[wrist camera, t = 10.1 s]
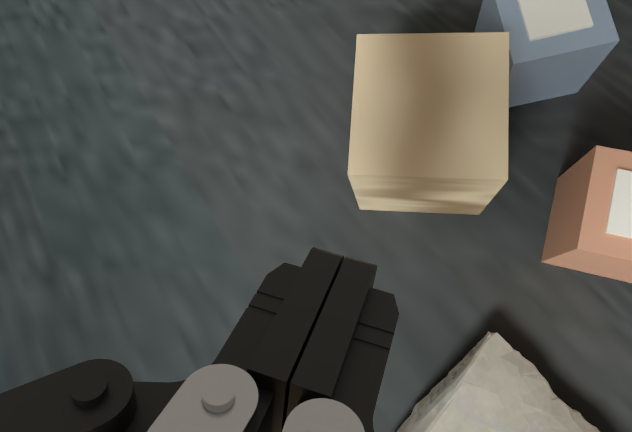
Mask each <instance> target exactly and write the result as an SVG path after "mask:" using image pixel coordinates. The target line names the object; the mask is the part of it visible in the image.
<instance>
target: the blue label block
mask: <svg viewBox="0 0 632 432" xmlns="http://www.w3.org/2000/svg"><path fill="white" fill-rule="evenodd" d="M480 32H509V107H513V106H518V105H523V104H527V103H532V102H536V101H541V100H546V99H550V98H555V97H559V96H564V95H569V94H573V93H577V92H578V91H579V90H580V88H581V87H582V86H583V85H584V84H585V82H586V81H587V80H588V79H589V77H590V76H591V75H592V74H593V72H594V71H595V70H596V69H597V68H598V66H599V65H600V64H601V63H602V61H603V60H604V59H605V58H606V56H607V55H608V54H609V53H610V52H611V50H612V49H613V48H614V47H615V45H616V44H617V43H618V42H619V37H618V34H617V31H616V28H615V25H614V22H613V19H612V16H611V13H610V10H609V7H608V4H607V1H606V0H483V2H482V5H481V9H480V13H479V16H478V20H477V24H476V27H475V31H474V33H480Z"/></svg>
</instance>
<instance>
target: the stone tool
mask: <svg viewBox="0 0 632 432" xmlns="http://www.w3.org/2000/svg"><path fill="white" fill-rule="evenodd" d="M397 432H600V431H599V430H598V428H597V427H595V426H593V425H591V424H589V423H588V422H587V421H586V420H585V419H584V417H582V416H581V413H579V412H578V411H577V410H573V409H572V408H570V407H569V406H568V405H567V404H565V403H564V402H563V401H562V400H561V399H560V398H558V397H557V396H556V395H555V394H554V392H553V391H552V389H551V387H550V385H549V383H548V381H547V380H546V379H545V378H544V377H543V376H542V375H541V374H540V373H539V371H538V370H537V368H536V367H535V366H534V364H532V363H531V362H530V361H528V360H527V359H525V358H524V357H522V356H521V354H520V352H518V351H516V350H514V349H512V347H511V346H510V345H509V344H508V343H507V342H506V341H505V340H504V339H503V338H502V337H501V336H500V335H499V334H498V333H497V332H496V333H491V332H489V331H488V333H487V334H486V335H485V336H484V338H482V339H481V340H480V341H479V342H478V343H477V345H476V346H475V347H474V348H473V349H472V350H470V351H469V353H468V354H467V355H466V356H465V357H464V358H463V359H462V360H461V361H460V362H459V363H458V364H457V365H456V366H455V367H454V368H453V369H452V370H451V371H450V372H449V373H448V375H447V377H445V378H444V379H443V380H442V381H440V382H439V383H438V384H437V385H436V386H435V387H434V388H432V389H431V391H430V393H429V394H428V395H427V396H426V397H424V398H423V399H422V400H421V401H419V402H418V403H417V404H416V405H415V406H414V408H413V411H412V413H411V415H410V416H409V417H408V418H407V419H406V420H405V421H404V423H403V424H402V425H401V427H400V428H399V429H398V430H397Z"/></svg>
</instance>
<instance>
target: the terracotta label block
mask: <svg viewBox="0 0 632 432" xmlns="http://www.w3.org/2000/svg"><path fill="white" fill-rule="evenodd" d="M541 262H544V263H548V264H552V265H556V266H561V267H565V268H569V269H574V270H578V271H582V272H586V273H591V274H595V275H599V276H603V277H608V278H612V279H616V280H621V281H625V282H629V283H632V152H630V151H625V150H619V149H614V148H609V147H603V146H598V145H596V146H595V147H594V148H593V149H592V150H590V151H589V152H588V153H587V154H586V155H585V156H583V157H582V158H581V159H580V160H579V161H577V162H576V163H575V164H574V165H573V166H572V167H570V168H569V169H568V170H567V171H566V172H564V173H563V174H562V175H561V176H560V177H559V178H557V183H556V188H555V193H554V198H553V204H552V209H551V214H550V219H549V224H548V229H547V234H546V239H545V244H544V249H543V254H542V259H541Z"/></svg>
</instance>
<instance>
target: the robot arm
mask: <svg viewBox="0 0 632 432" xmlns="http://www.w3.org/2000/svg"><path fill="white" fill-rule="evenodd" d="M376 270H377V265H374V264H371V263H367V262H364V261H360V260H357V259H353V258H350V257H345V259H344V256H342V255H339V254H335V253H332V252H328V251H325V250H321V249H318V248H314V247H313V248H312V249H311V250H310V252H309V254H308V256H307V258H306V260H305V261H304V263H303V265H302V267H298V266H295V265H291V264H288V263H283V264H282V265H280V266H279V267H277V268H276V269H275V270H273V271H272V272H270V273H269V274H267V276H266V277H265V279H264V281H263V282H262V284H261V286H260V287H259V289H258V290H257V294H255V295H254V297H253V299H252V300H251V302H250V304H249V307H248V308H246V310H245V312H244V313H243V315H242V317H241V318H240V320H239V322H238V323H237V325H236V327H235V328H234V330H233V331H232V333H231V335H230V336H229V338H228V340H227V341H226V343H225V345H224V346H223V348H222V349H221V351H220V353H219V354H218V356H217V358H216V359H215V360H214V362H213V363H212V364H211V365H209V366H206V367H203V368H201V369H199V370H197V371H196V372H194V373H193V374H192V375H190V376H189V377H188V378H187V379H186V380H183V381H179V382H168V383H164V382H133V379H132V376H131V374H130V372H129V371H128V370H127V369H126V367H125V366H123V365H122V364H120V363H118V362H116V361H112V360H108V359H94V360H89V361H85V362H82V363H79V364H76V365H74V366H71V367H68V368H66V369H63V370H61V371H58V372H55V373H53V374H50V375H48V376H45V377H42V378H40V379H37V380H35V381H32V382H30V383H27V384H24V385H22V386H19V387H17V388H14V389H11V390H9V391H6V392H4V393H1V394H0V432H374V429H373V413H374V409H375V405H376V401H377V397H378V393H379V389H380V385H381V382H382V378H383V374H384V370H385V366H386V362H387V358H388V354H389V350H390V347H391V343H392V339H393V335H394V331H395V327H396V323H397V320H398V316H399V312H398V308H397V305H396V301H395V297H394V294H390V293H387V292H384V291H380V290H377V289H373V283H374V279H375V275H376Z"/></svg>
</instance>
